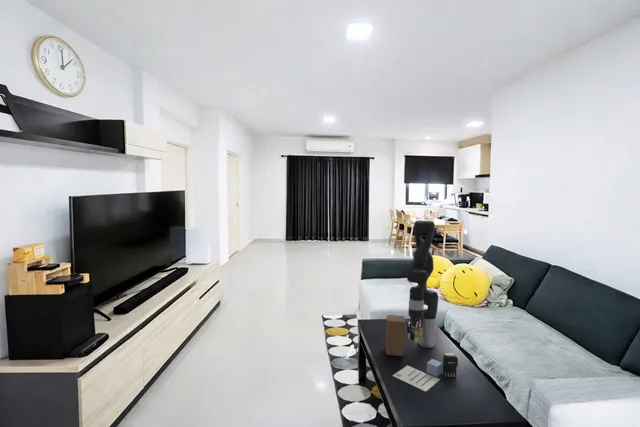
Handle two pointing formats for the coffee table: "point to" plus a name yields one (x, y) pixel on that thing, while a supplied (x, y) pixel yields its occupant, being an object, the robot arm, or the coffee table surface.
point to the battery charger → (449, 365)
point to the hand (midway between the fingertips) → (414, 338)
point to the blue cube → (434, 367)
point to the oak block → (416, 335)
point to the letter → (416, 378)
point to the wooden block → (395, 335)
